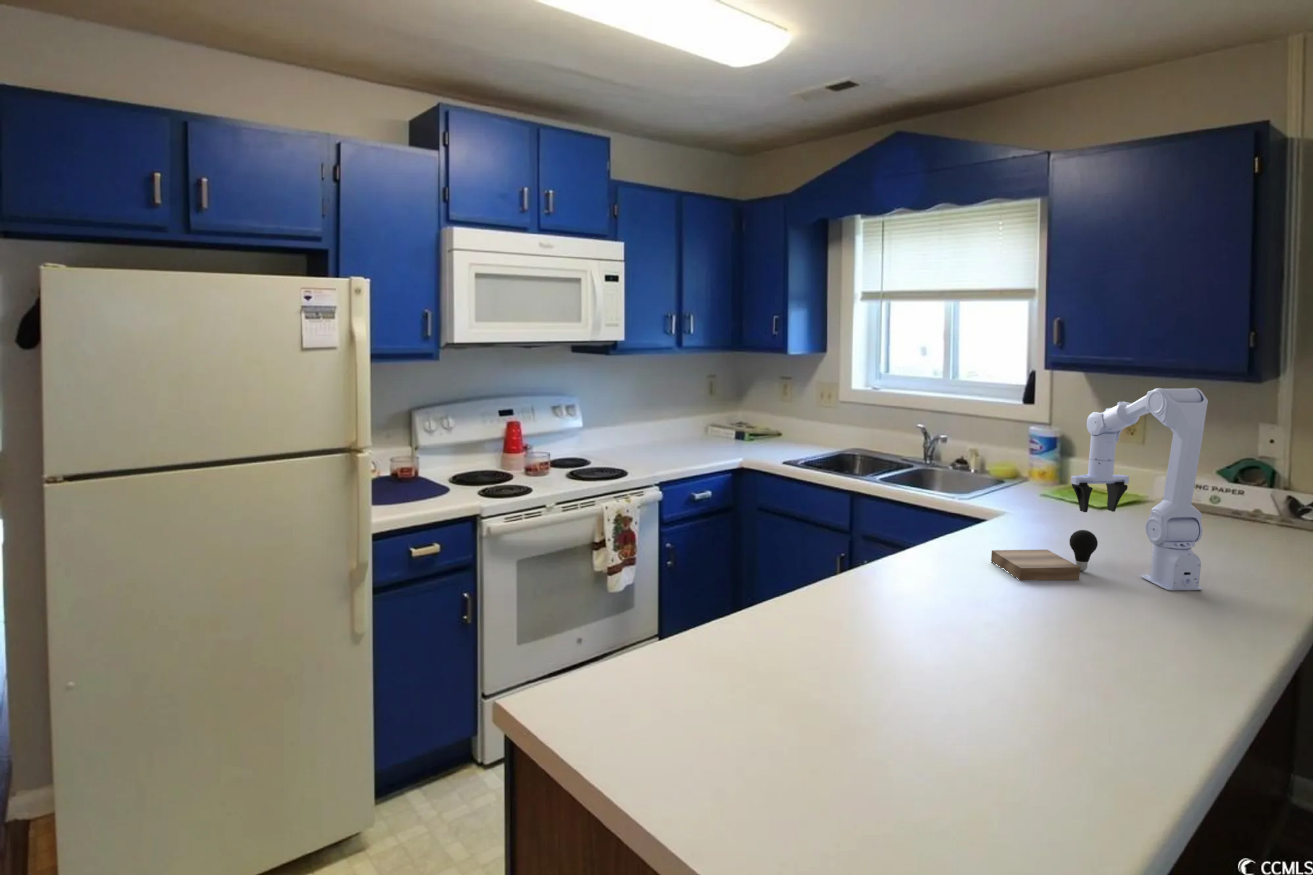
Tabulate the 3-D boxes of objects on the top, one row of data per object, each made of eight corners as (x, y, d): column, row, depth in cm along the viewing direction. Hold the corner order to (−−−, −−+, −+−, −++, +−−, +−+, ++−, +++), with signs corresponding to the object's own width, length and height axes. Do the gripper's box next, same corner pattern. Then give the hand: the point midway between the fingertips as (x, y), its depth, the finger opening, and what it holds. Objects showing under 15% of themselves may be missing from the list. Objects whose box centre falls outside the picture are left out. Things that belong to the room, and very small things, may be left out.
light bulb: (1100, 575, 185) (1103, 533, 184) (1074, 575, 186) (1078, 533, 184) (1087, 567, 191) (1090, 527, 190) (1062, 567, 191) (1065, 527, 190)
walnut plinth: (1079, 579, 182) (1080, 567, 182) (1019, 580, 181) (1020, 568, 181) (1046, 561, 196) (1047, 549, 196) (991, 562, 195) (991, 550, 195)
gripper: (1117, 456, 208) (1113, 506, 210) (1065, 457, 207) (1061, 508, 209) (1136, 460, 201) (1131, 513, 203) (1082, 461, 200) (1078, 514, 202)
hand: (1097, 511), depth 205 cm, fingers open, 7 cm apart
